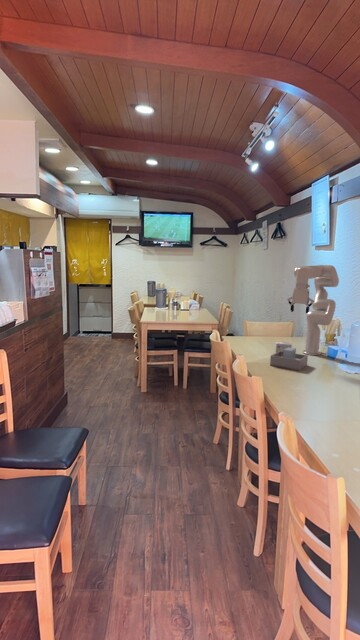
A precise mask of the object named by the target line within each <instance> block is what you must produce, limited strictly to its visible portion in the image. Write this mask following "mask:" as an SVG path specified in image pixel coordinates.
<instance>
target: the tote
mask: <svg viewBox="0 0 360 640" xmlns="http://www.w3.org/2000/svg"><path fill="white" fill-rule="evenodd" d="M308 358H309V355H308V354H301V353H296V355H295V359H289V358H284V357H283V351H279V352H277V353H275V352H274V353H273V354H271V355H270V360H269V366H271V367H277V368H282V369H286V370H291V371H296V372H300V371H301V370H303V369H304V368H305V367H307V366H308Z"/></svg>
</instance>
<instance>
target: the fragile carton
mask: <svg viewBox="0 0 360 640" xmlns="http://www.w3.org/2000/svg"><path fill="white" fill-rule="evenodd" d="M296 354H297V348H295V347H292V348H290V347H288V348H286V349H284V352H283V357H284V358H289V359H295V355H296Z"/></svg>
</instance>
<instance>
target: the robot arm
mask: <svg viewBox="0 0 360 640" xmlns="http://www.w3.org/2000/svg"><path fill="white" fill-rule="evenodd" d="M293 276H294V277H295V288H294V289H293V292H292V296H291V297H288V298H287V302H288V304H289V306H290V312H292V313H293V312H294V311H295V304H298V305H305V306H306V307H305V314H306V316H305V318H306V333H305V334H306V335H305V345H304V350H302V354H303V355H307V356H320V355H321V353H322V352H321V351H320V350H319V349H320V342H321V341H320V339H321V329H320V326H330V325H331V323H332V321H333V317H334V315H335V311H336V306H337V305H336V301H335V299H331V298H328V297H329V296H328V295H329V293H328V291H327V290H326V288H336V287H338V286H339V282H340V279H339V274H338V272H337V269H336V267H335V266H334V265H332V264H331V265H330V264H318V265H307V266H304V265H303V266H297V267H295V268H294V270H293ZM309 279H311V280H312V279H313V281H314V283H313V284H314V289H315V294H314V295H315V296H314V299H312V298H311V297H310V289H309V288H311V285H310V284H309ZM310 307H312V310H310Z"/></svg>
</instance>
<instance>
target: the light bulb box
mask: <svg viewBox="0 0 360 640" xmlns="http://www.w3.org/2000/svg"><path fill="white" fill-rule="evenodd" d="M288 347H290V348H293V344H292V343H291V342H285V341H284V342H282V341H281V342H280V341H275V342H274V354H275V353H277V352H279V351H283V352H284V349H286V348H288Z"/></svg>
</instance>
